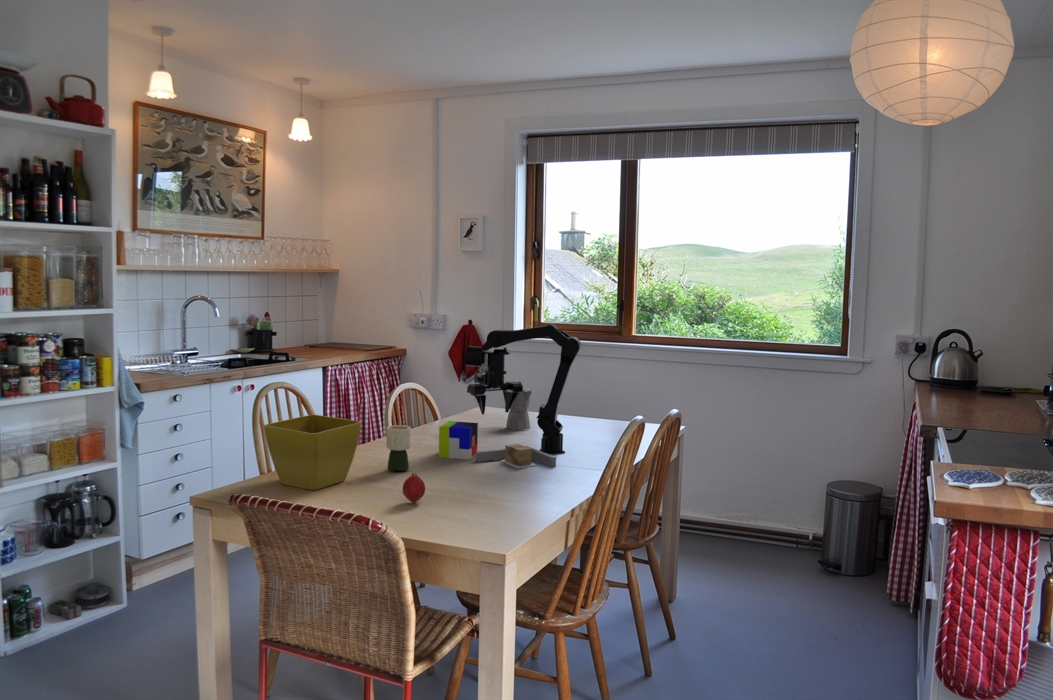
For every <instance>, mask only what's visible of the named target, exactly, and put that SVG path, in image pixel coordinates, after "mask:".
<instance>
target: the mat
mask: <svg viewBox="0 0 1053 700" xmlns="http://www.w3.org/2000/svg"><path fill="white" fill-rule="evenodd" d="M499 461H500V462H501V463H503V464H505V463H506V465H508V466H510V467H513V468H515V469H522V468H523V469H524V468H531V467H532V468H533V467H536V466H537V465H536V464H535V463H533V462H531V465H525V466H517V465H515V464H512V463H510V462H507V461H505V459H501V460H499Z"/></svg>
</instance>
